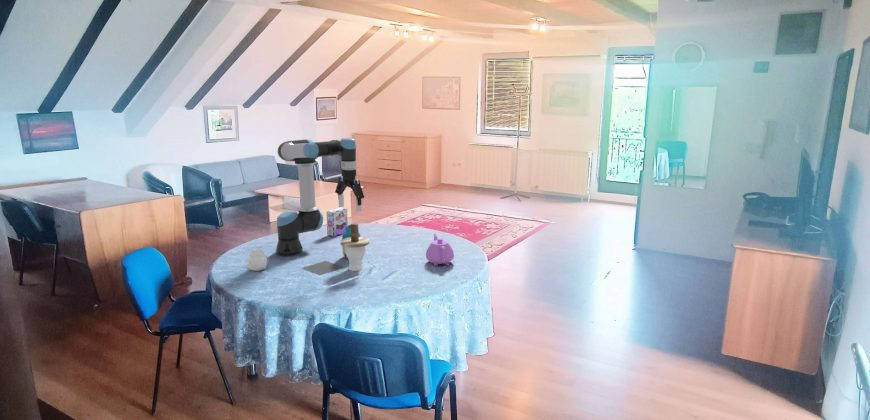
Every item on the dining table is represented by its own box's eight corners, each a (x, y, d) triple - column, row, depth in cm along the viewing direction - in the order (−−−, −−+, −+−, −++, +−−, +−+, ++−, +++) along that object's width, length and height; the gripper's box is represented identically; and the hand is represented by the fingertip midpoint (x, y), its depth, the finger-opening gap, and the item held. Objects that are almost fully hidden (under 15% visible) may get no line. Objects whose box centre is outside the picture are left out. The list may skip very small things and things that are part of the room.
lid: (334, 243, 279) (333, 224, 277) (356, 237, 290) (356, 219, 288) (353, 249, 270) (352, 229, 267) (375, 242, 281) (374, 224, 278)
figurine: (272, 268, 286) (270, 246, 284) (260, 274, 277) (259, 252, 275) (256, 266, 290) (254, 244, 287) (244, 271, 281) (243, 250, 278)
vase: (357, 262, 296) (356, 229, 291) (339, 260, 298) (338, 227, 293) (364, 256, 306) (363, 224, 301) (346, 255, 308) (345, 223, 304)
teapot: (421, 257, 305) (421, 233, 302) (447, 255, 309) (448, 232, 305) (430, 269, 284) (430, 245, 281) (458, 267, 288) (458, 243, 285)
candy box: (333, 236, 344) (332, 212, 340) (327, 235, 347) (325, 210, 343) (348, 232, 355) (347, 208, 351) (341, 230, 358) (340, 206, 354)
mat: (301, 269, 284) (301, 268, 283) (325, 262, 295) (325, 260, 295) (320, 276, 274) (319, 275, 273) (344, 268, 285) (344, 267, 285)
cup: (364, 273, 278) (363, 246, 275) (344, 273, 279) (343, 246, 275) (367, 266, 289) (366, 240, 285) (347, 266, 289) (346, 240, 285)
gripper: (327, 166, 278) (329, 206, 284) (359, 172, 263) (360, 214, 268) (338, 165, 284) (340, 203, 289) (370, 171, 268) (371, 211, 274)
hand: (349, 209), depth 279 cm, fingers open, 13 cm apart
